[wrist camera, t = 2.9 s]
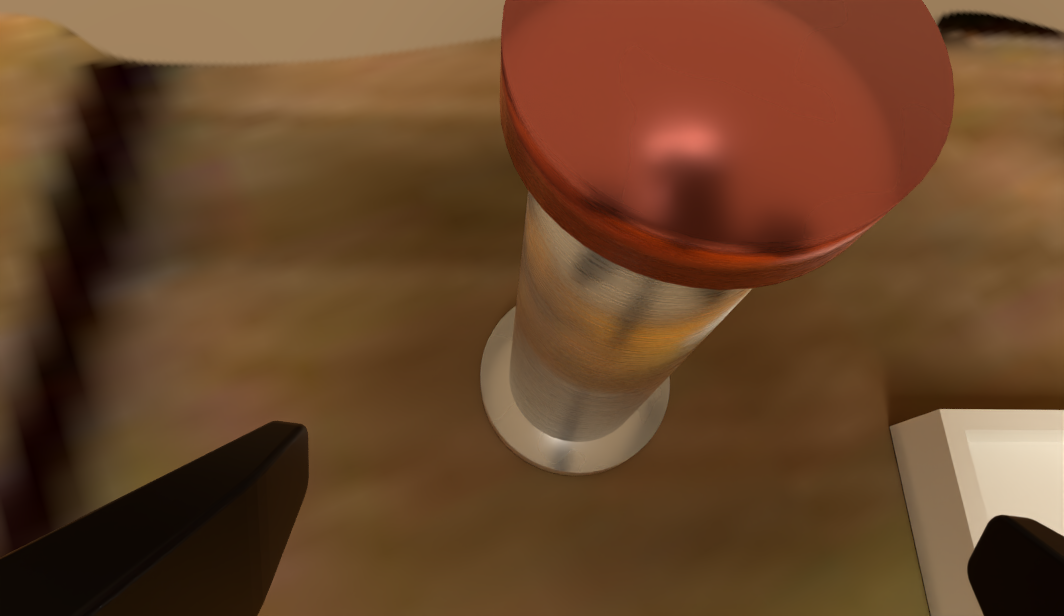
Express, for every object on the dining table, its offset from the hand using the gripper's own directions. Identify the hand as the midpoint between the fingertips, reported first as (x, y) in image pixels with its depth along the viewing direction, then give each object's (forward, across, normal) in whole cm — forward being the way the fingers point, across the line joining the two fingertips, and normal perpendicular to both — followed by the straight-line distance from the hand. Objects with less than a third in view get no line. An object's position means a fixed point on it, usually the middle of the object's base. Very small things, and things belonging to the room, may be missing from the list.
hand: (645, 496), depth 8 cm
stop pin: (+12, 0, +5) cm, 13 cm away
